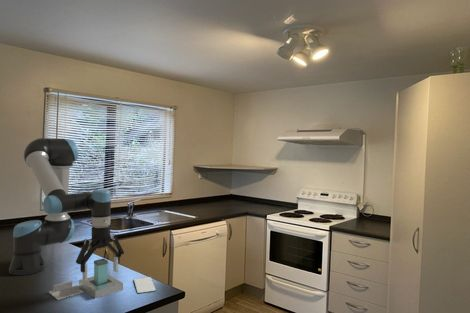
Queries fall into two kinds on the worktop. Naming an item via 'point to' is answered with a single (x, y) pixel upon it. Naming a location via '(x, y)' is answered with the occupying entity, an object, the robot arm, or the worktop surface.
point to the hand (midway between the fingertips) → (100, 275)
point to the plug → (100, 271)
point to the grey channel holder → (65, 290)
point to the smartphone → (144, 285)
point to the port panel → (100, 286)
